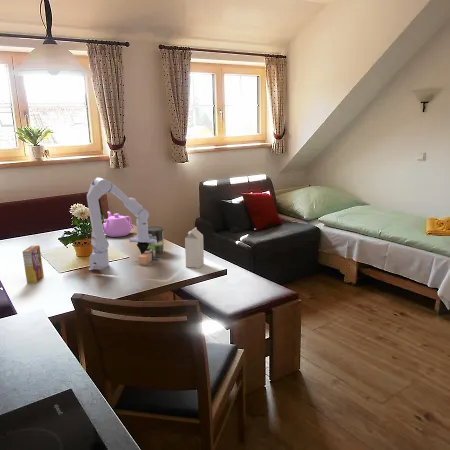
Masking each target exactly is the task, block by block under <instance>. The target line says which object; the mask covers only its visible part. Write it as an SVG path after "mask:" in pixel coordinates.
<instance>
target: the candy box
mask: <svg viewBox="0 0 450 450" xmlns="http://www.w3.org/2000/svg"><path fill="white" fill-rule="evenodd" d="M22 257H23V264H24V266H23V267H24V270H25V278H26V284H31V285H32V284H35V285H36V284H37V283H39V281H40V280H41V279H43V278H44V276H45V274H44V268H43V260H42V255H41V246H40V245H30V246H29V247H27V248H25V249H24V250H22Z"/></svg>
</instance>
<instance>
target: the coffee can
mask: <svg viewBox="0 0 450 450" xmlns="http://www.w3.org/2000/svg"><path fill="white" fill-rule="evenodd" d="M148 237H149V238H150V239H156V240H157V243H156V244H152V243H150V244H149V246H148V248H147V249H152V250H155V255H160V254H163V253H164V252H165V250H164V249H165V248H164V246H165V245H164V241H165V240H164V228H163V227H162V226H148Z"/></svg>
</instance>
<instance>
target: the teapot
mask: <svg viewBox="0 0 450 450" xmlns="http://www.w3.org/2000/svg"><path fill="white" fill-rule="evenodd" d="M128 219H129V220H128ZM103 220H104V223H103V224H102V226H103V232H104V234H105V236H107V237H111V238H117V237H124V236H127V235H128V236H129V234H130V233H131V231H132V229H134V225H133V224H132V222H133V221H132V220H133V219H132V217H131V216H130V215H126V216H124V215H120V213H119V212H118V213H114V214H113V215H112V213H111V211H109V210H108V211H107V218H104V219H103Z"/></svg>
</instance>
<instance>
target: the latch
mask: <svg viewBox="0 0 450 450" xmlns="http://www.w3.org/2000/svg"><path fill="white" fill-rule="evenodd" d="M145 253H152V259H155V258H156V256H157V254H155V250H152V249H147V250H146V251H145Z"/></svg>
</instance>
